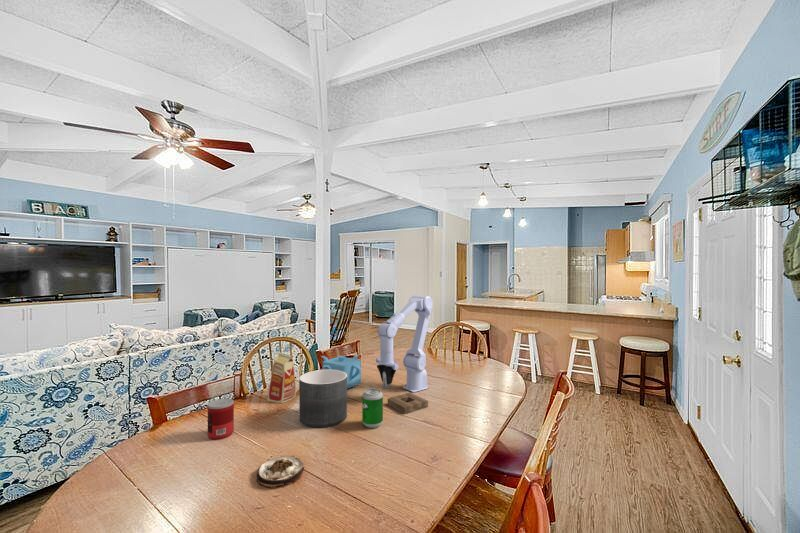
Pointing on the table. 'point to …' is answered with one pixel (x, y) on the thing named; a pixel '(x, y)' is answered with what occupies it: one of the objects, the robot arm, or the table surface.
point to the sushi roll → (280, 471)
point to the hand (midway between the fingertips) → (386, 382)
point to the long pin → (385, 382)
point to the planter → (322, 398)
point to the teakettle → (345, 368)
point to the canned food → (220, 418)
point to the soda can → (372, 408)
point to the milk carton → (282, 380)
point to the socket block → (407, 403)
